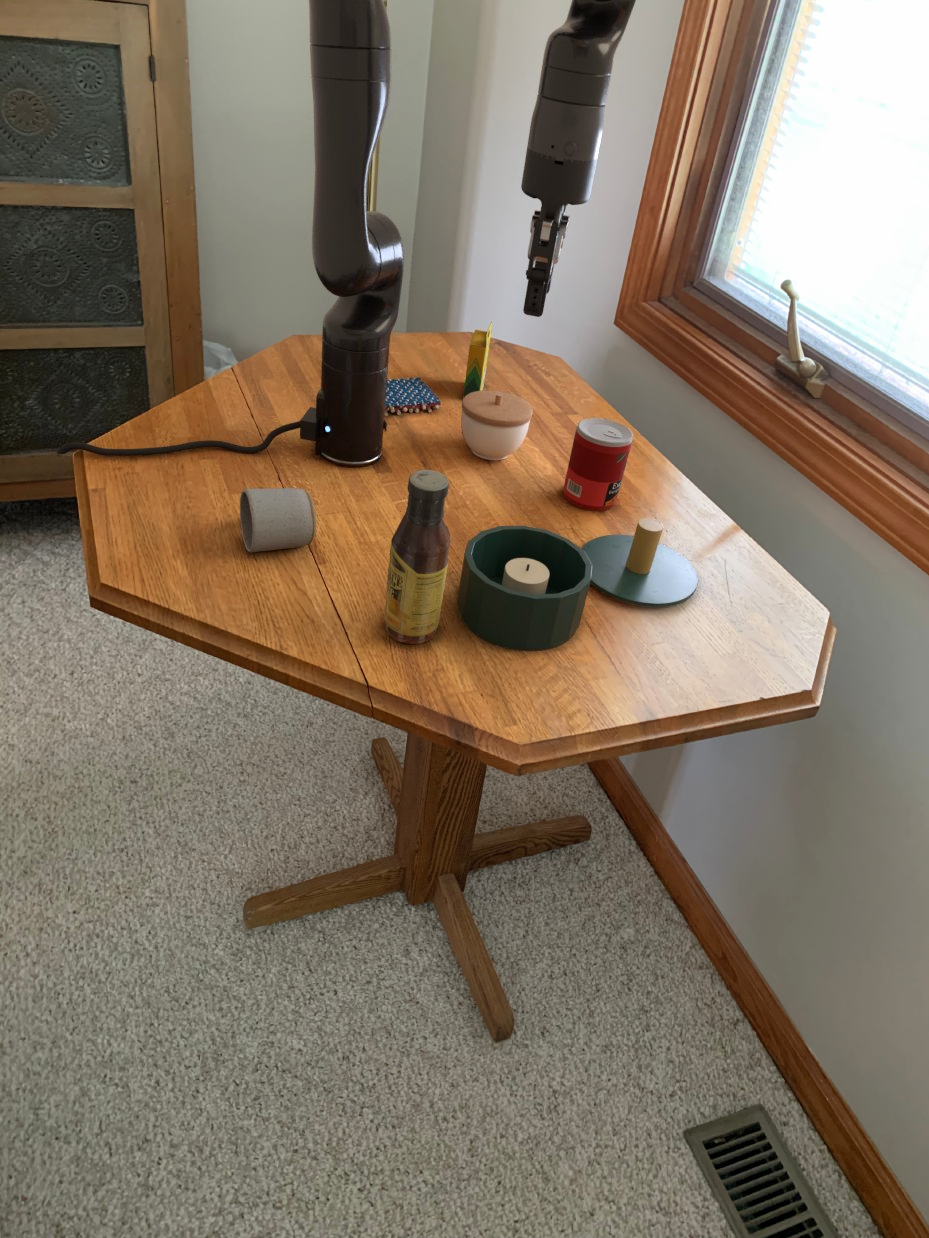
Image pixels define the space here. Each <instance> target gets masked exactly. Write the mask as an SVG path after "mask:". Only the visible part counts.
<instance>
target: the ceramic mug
mask: <svg viewBox="0 0 929 1238" xmlns="http://www.w3.org/2000/svg"><path fill="white" fill-rule="evenodd" d="M239 516H240V517H239V518H240V519H239V520H240V527H241V529H240V530H241V534H242V535H241V536H242V539H243V542H244V546H245V549H246V550H247V552H248V553H259V552H267V551H269V552H270V551H275V550H283V549H293V548H301V547H304V546H307V545H311V543H313V541H314V540H315V537H316V533H317V512H316V507H315V502H314V499H313V497H312V495H311V493H310V492H309V491H307V490H306V489H302V488H297V487H284V488H283V487H282V488H244V489H243V490H242V491H241V493H240V498H239Z"/></svg>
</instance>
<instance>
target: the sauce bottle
mask: <svg viewBox="0 0 929 1238" xmlns="http://www.w3.org/2000/svg"><path fill="white" fill-rule="evenodd" d="M449 487H450V481H449V478H448V477H447V476H446V475H445V474H444V473H441V472H439V471H436V470H434V469H433V470H432V469H420V470H417V471H414V472H412V473H411V474H410V475H409V477H408V482H407V493H408V496H407V507H406V508H405V513H404V515H403V516H402V518H401V520H400V522H399V524H398V525H397V528H396V530H395V532H394V534H393V536H392V537H391V543H390V550H389V562H388V569H387V570H388V571H387V580H386V581H387V582H386V591H385V592H386V593H385V602H384V603H385V604H384V613H383V616H384V628H385V631H386V632H387V633H388V635H389V636H390V637H391V639H393V640H394V641H397V642H399V643H403V644H408V645H420V644H423V643H426V642H430V641H431V640H432V639H433V638H434V637H435V635H436V634H437V633H436V632H437V630H438V626H439V624H440V620H441V612H442V606H443V600H444V592H445V587H446V579H447V573H448V568H449V567H448V566H449V552H450V547H451V533H450V530H449V528H448V526H447V525H446V522H445V521H444V517H445V511H444V509H445V501H446V498H447V496H448V494H449Z"/></svg>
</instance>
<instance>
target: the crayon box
mask: <svg viewBox="0 0 929 1238" xmlns="http://www.w3.org/2000/svg"><path fill="white" fill-rule="evenodd" d="M492 324H493V322H492V321H490V324H489V325H488V328H487V331H485V330H481V329H474V332H473V335H472V337H471V340H470V343H469V348H468V354H467V355H468V356H467V361H466V362H467V363H466V370H465V371H466V372H465V379H464V387H463V396H462V399H463V398H464V397H465V396H466V395H468V394H470V393H472V392H476V391H483V390H484V387H485V380H486V372H487V365H488V356H489V352H490V351H489V349H490V343H491V336H492Z"/></svg>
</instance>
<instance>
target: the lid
mask: <svg viewBox="0 0 929 1238" xmlns="http://www.w3.org/2000/svg"><path fill="white" fill-rule="evenodd" d="M663 531H664V525H663V523H662V522H661V521H660V520H657V519H655V518H651V517H642V518H640V519H638V521H637V524H636V527H635V531H634V534H633V535H632V534H620V533H619V534H618V533H617V534H606V535H602V536H598V537H595V538H591V540H589V541H587V542H586V543H584V545H582V547H581V549H582V550H583V551H584V552H585V554H586V555H587V557H588V559H589V561H590V562H591V564H592V576H591V582H590V586H592V587H594V588H595V589H597V591H599V592H601V593H602V594H604V595H606V596H609V597H610V598H612V599H615V600H617V601H620V602H623V603H625V604H629V605H634V606H637V607H646V608H666V607H672V606H677V605H681V604H682V603H685V602H686V601H688V600H689V599H691V597H692V596H693V595H694V594H695V592H696V591H697V588H698V584H699V578H698V574H697V571H696V569H695V568H694V566H693V565H692V563H691V562H690V561H689V560H688V559H687V558H686V557H685V556H684V555H683V554H681V553H680V552H678V551H676V550H675V549H673V548H672V547H670V546H668V545H665V544H664V543H661V542H660V541H661V537H662V534H663Z"/></svg>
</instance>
